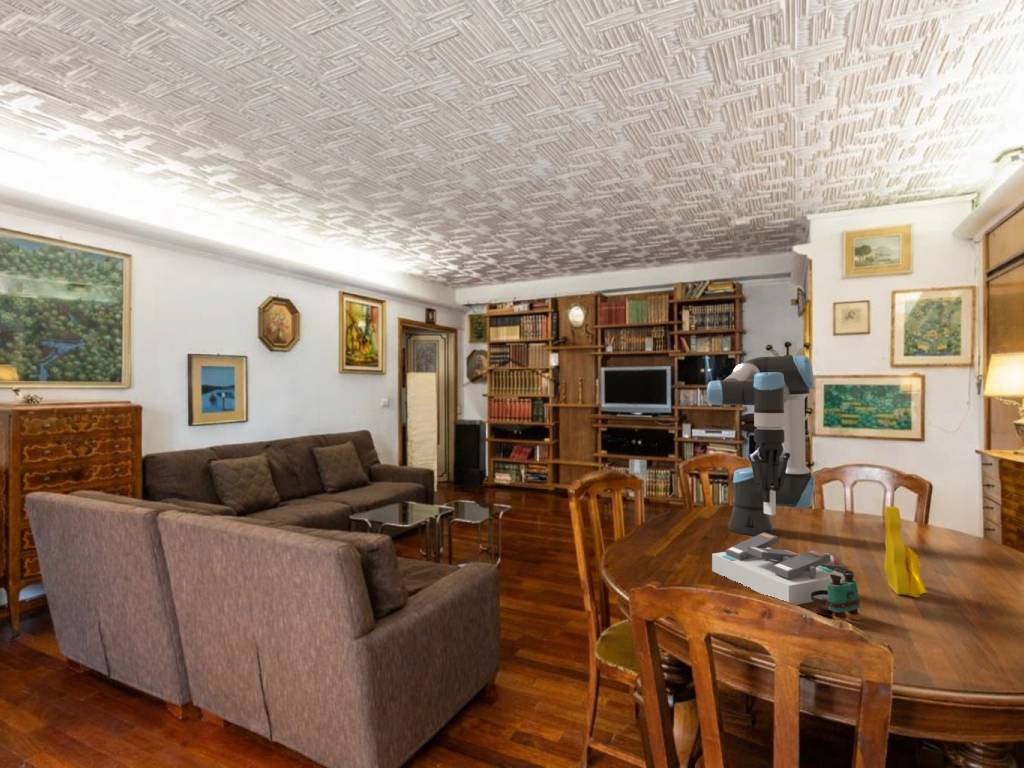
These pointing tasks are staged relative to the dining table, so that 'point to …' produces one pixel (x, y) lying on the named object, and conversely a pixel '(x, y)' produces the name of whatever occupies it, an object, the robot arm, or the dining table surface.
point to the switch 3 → (800, 563)
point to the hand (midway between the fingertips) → (769, 513)
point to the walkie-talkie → (834, 564)
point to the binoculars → (840, 598)
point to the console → (774, 577)
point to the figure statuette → (900, 559)
